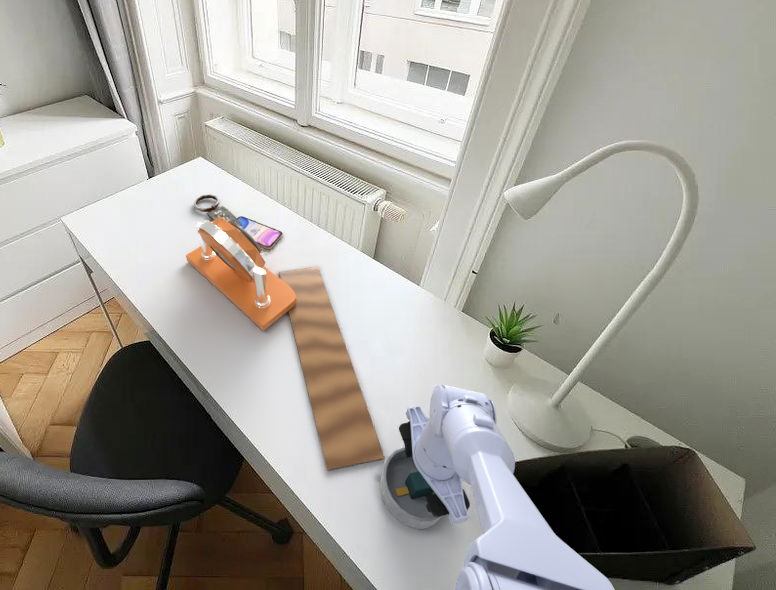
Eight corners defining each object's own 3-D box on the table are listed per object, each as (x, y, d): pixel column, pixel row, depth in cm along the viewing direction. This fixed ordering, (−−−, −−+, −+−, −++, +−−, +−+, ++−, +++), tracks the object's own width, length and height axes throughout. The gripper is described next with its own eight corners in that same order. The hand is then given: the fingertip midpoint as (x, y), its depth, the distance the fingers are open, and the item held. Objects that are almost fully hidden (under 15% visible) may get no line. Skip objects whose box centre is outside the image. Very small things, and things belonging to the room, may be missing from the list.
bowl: (458, 512, 63) (465, 504, 60) (402, 540, 60) (407, 533, 58) (419, 447, 70) (424, 437, 68) (368, 470, 68) (371, 461, 65)
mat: (384, 458, 69) (384, 457, 69) (327, 470, 68) (327, 469, 68) (317, 267, 103) (317, 266, 103) (279, 273, 102) (279, 272, 102)
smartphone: (269, 251, 108) (269, 248, 107) (224, 232, 114) (224, 229, 114) (284, 234, 113) (284, 231, 112) (240, 217, 119) (240, 214, 119)
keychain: (221, 237, 113) (220, 231, 111) (190, 204, 125) (189, 199, 124) (244, 225, 116) (244, 220, 115) (212, 194, 128) (211, 189, 127)
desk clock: (261, 333, 88) (254, 271, 75) (185, 262, 106) (169, 202, 93) (301, 301, 94) (300, 238, 82) (223, 239, 112) (212, 179, 99)
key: (425, 477, 66) (430, 468, 64) (432, 494, 64) (438, 485, 62) (392, 484, 66) (396, 475, 63) (398, 502, 64) (403, 493, 61)
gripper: (503, 501, 49) (471, 530, 58) (444, 387, 60) (425, 427, 69) (448, 514, 49) (424, 542, 57) (399, 396, 60) (386, 435, 68)
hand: (422, 479), depth 63 cm, fingers open, 7 cm apart
